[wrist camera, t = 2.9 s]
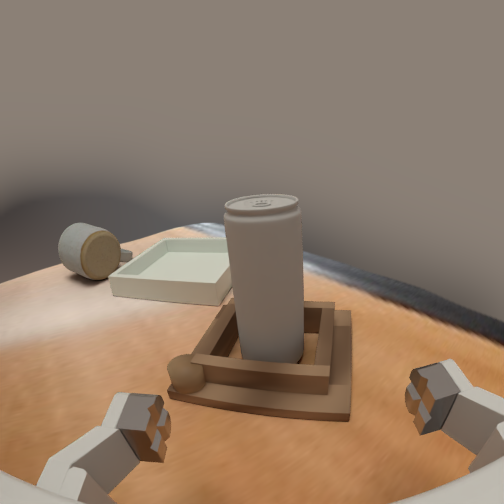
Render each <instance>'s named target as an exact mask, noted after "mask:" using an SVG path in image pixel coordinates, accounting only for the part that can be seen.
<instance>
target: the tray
mask: <svg viewBox="0 0 504 504" xmlns="http://www.w3.org/2000/svg"><path fill="white" fill-rule="evenodd" d="M108 278H109V282H110V286H111V289H112V293H113V296H120V297H128V298H137V299H147V300H156V301H166V302H177V303H188V304H200V305H212V306H219V305H220V304H221V302H222V301H223V299H224V298H225V296H226V295H227V293H228V292H229V290H230V289H231V288H232V279H231V272H230V264H229V256H228V248H227V240H226V238H163V239H162V240H160V241H159V242H157V243H156V244H154V245H153V246H151V247H150V248H148V249H147V250H145V251H144V252H142V253H141V254H139V255H138V256H136V257H135V258H133V259H132V260H131V261H129V262H128V263H126V264H125V265H123V266H122V267H121V268H119V269H118V270H116V271H115V272H113V273H112V274H111V275H109V276H108Z"/></svg>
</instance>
